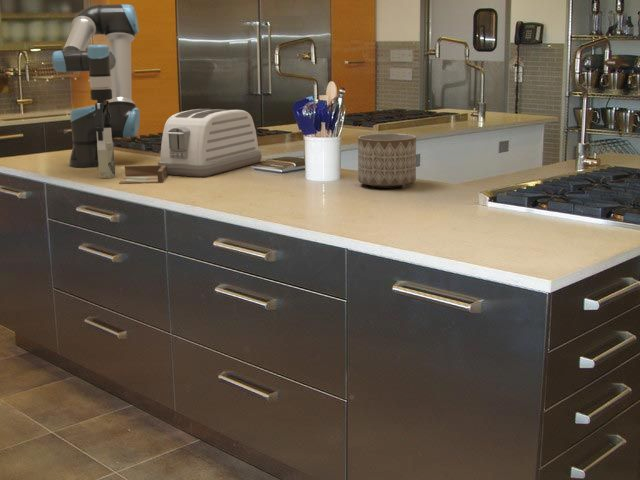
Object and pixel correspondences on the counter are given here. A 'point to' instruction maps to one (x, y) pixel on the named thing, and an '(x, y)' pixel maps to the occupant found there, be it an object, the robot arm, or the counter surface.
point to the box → (106, 161)
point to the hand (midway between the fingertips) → (105, 147)
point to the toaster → (208, 142)
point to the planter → (387, 159)
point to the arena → (144, 174)
